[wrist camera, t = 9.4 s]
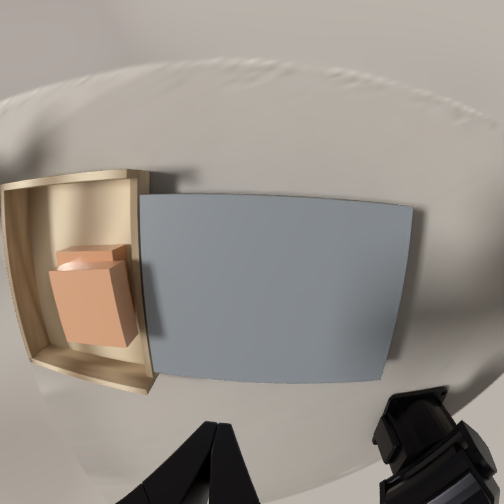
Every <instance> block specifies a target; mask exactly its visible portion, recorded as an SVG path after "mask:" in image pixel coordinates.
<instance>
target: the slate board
mask: <svg viewBox="0 0 504 504" xmlns="http://www.w3.org/2000/svg"><path fill="white" fill-rule="evenodd" d="M412 214H413V207H408V206H403V205H397V204H388V203H378V202H367V201H356V200H344V199H330V198H316V197H299V196H280V195H255V194H213V193H160V194H145V195H140V237H141V259H142V274H143V287H144V298H145V308H146V318H147V326H148V334H149V342H150V349H151V356H152V362H153V368H154V372H158V373H165V374H171V375H179V376H186V377H195V378H204V379H214V380H225V381H238V382H256V383H287V384H314V383H345V382H361V381H374V380H381V376H382V373H383V370H384V366H385V363H386V359H387V356H388V352H389V348H390V344H391V340H392V336H393V332H394V328H395V324H396V319H397V315H398V310H399V305H400V300H401V295H402V290H403V284H404V278H405V272H406V266H407V259H408V252H409V244H410V235H411V225H412Z"/></svg>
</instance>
